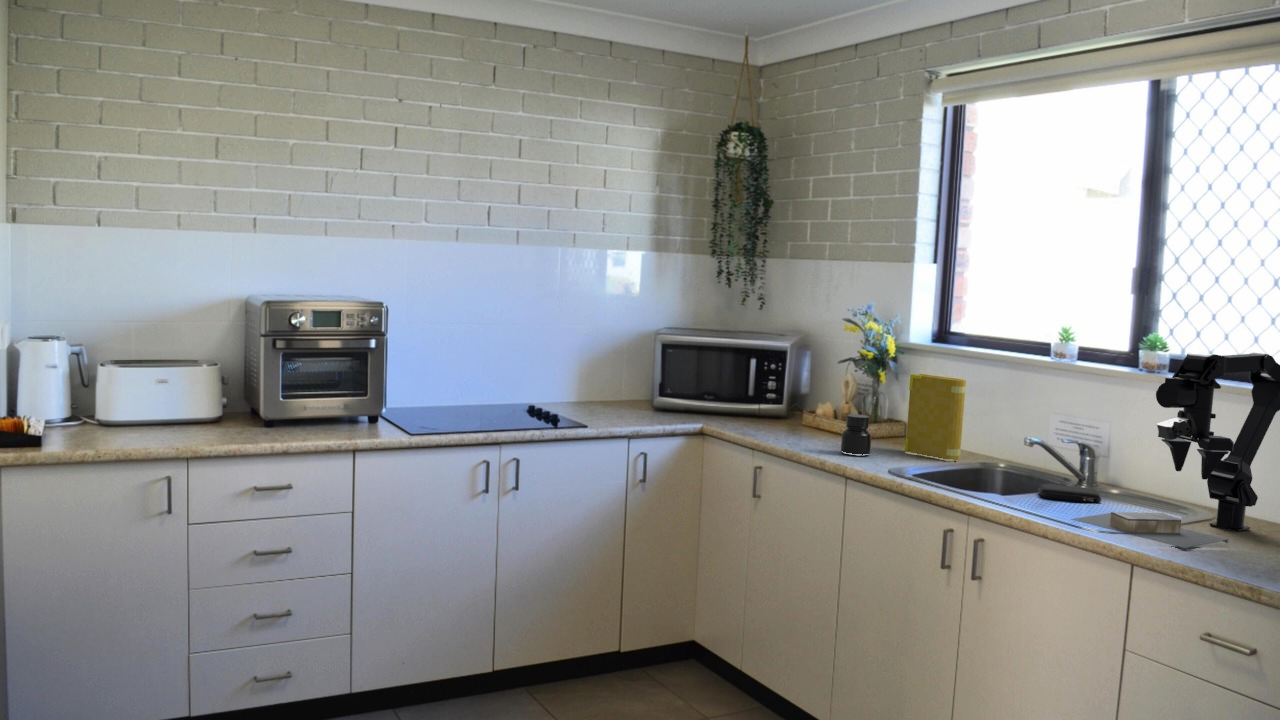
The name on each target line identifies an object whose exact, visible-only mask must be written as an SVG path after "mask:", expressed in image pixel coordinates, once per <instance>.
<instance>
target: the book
mask: <svg viewBox="0 0 1280 720" xmlns="http://www.w3.org/2000/svg"><path fill="white" fill-rule="evenodd" d="M966 383H967V380H966V379H964V378H959V377H958V378H957V377H949V376H940V375H933V374H928V373H919V374H910V375H909V388H908V389H909V396H908V397H909V398H908V399H909V400H908V411H907V413H908V414H907V425H906V438H905V440H904V451H905V452H911V453H917V454H922V455H927V456H933V457H938V458H943V459H953V460H958V459H960V460H961V458H960V457H961V447H962V446H961V445H962V435H963V421H964V409H965V400H966V399H965V398H966V387H967V385H966ZM904 451H903V452H904Z"/></svg>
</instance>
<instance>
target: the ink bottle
mask: <svg viewBox="0 0 1280 720" xmlns="http://www.w3.org/2000/svg"><path fill="white" fill-rule="evenodd" d="M845 419H846V420H845V425H846V426H845V427H846V429H844V430H843V431H842V433H841V439H840V441H841V444H840V452H841V451H843V452H846V453H852V454H862V455H863V454H870V455H871V450H872V449H871V446H872V433H870V432H869V430H868V429H869V426H870V425H869V423H870V416H868V415H864V414H857V413H856V414H854V413H853V414H852V413H851V414H846V418H845Z"/></svg>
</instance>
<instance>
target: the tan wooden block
mask: <svg viewBox="0 0 1280 720" xmlns="http://www.w3.org/2000/svg"><path fill="white" fill-rule="evenodd" d="M1110 513H1111V518H1110V525H1112V526H1114V527H1116V528H1119V529H1121V530H1123V531H1126V532H1154V533H1180V528H1182V527H1181V526H1182V519H1180V518H1177V517H1174V516H1172V515H1169V514H1167V513H1165V512H1132V511H1111V512H1110Z"/></svg>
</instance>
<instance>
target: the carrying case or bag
mask: <svg viewBox="0 0 1280 720" xmlns="http://www.w3.org/2000/svg"><path fill="white" fill-rule="evenodd" d="M1038 493H1039V495H1040V496H1041V497H1042V498H1043V499H1046V500H1052V501H1062V502H1070V503H1080V504H1087V505H1088V504H1089V505H1096V504H1099V502H1101V501H1102V498H1101V495H1100V494H1099V493H1098V492H1097V490H1096V489H1094V488H1090V487H1081V486H1074V485H1073V486H1072V485H1065V484H1064V485H1063V484H1052V483H1043V484H1041V485H1040V486H1039V487H1038Z"/></svg>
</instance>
